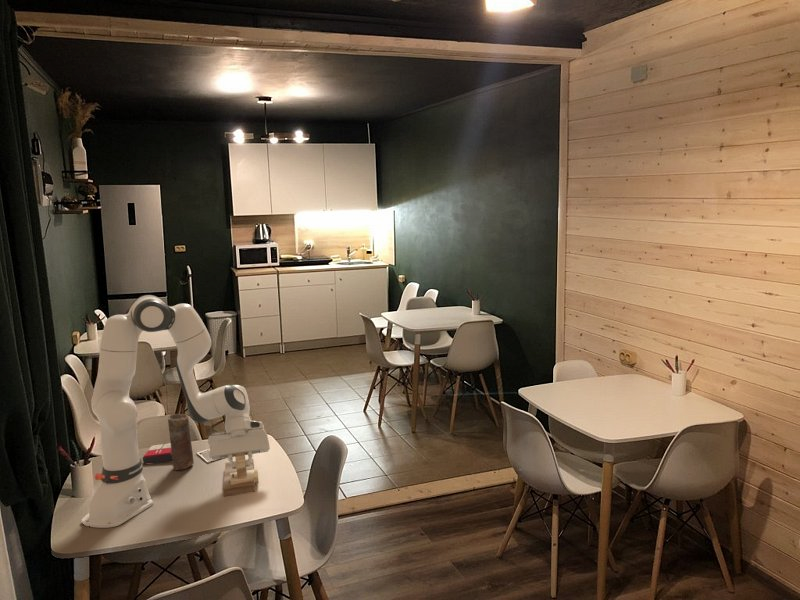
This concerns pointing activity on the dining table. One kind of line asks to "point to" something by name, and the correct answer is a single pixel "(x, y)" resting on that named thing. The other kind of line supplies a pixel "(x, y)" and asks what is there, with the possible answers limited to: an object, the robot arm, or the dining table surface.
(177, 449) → the candle
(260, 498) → the dining table surface
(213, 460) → the dessert
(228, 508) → the dining table surface
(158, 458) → the red and white box
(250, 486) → the board
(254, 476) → the stacked wooden blocks
